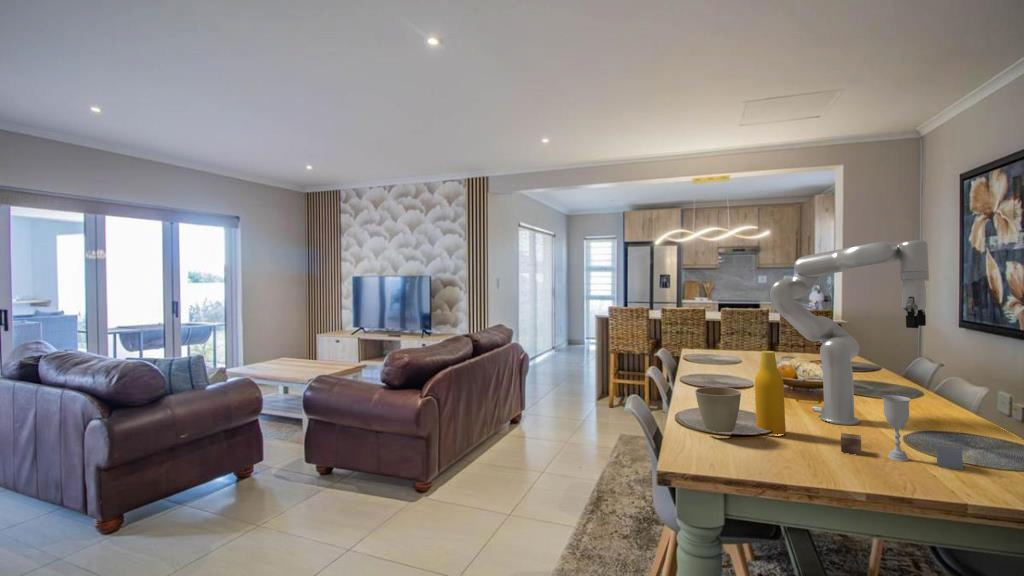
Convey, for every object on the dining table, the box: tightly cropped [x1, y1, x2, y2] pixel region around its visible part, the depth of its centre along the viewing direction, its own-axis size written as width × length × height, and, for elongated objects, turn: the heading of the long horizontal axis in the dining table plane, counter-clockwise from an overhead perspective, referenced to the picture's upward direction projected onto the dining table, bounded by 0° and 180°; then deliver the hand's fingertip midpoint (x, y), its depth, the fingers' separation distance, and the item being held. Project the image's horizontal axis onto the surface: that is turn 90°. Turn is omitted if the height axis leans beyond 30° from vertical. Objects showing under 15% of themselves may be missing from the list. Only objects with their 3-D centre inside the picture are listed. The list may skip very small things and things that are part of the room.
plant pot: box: [694, 386, 742, 432], centre depth 170 cm, size 15×15×16 cm
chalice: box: [881, 394, 912, 462], centre depth 143 cm, size 7×7×18 cm
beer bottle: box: [754, 350, 787, 435], centre depth 171 cm, size 9×9×29 cm
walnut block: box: [840, 432, 862, 456], centre depth 150 cm, size 5×5×5 cm
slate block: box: [935, 444, 964, 471], centre depth 136 cm, size 5×5×5 cm
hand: (916, 326), depth 164 cm, fingers open, 9 cm apart
